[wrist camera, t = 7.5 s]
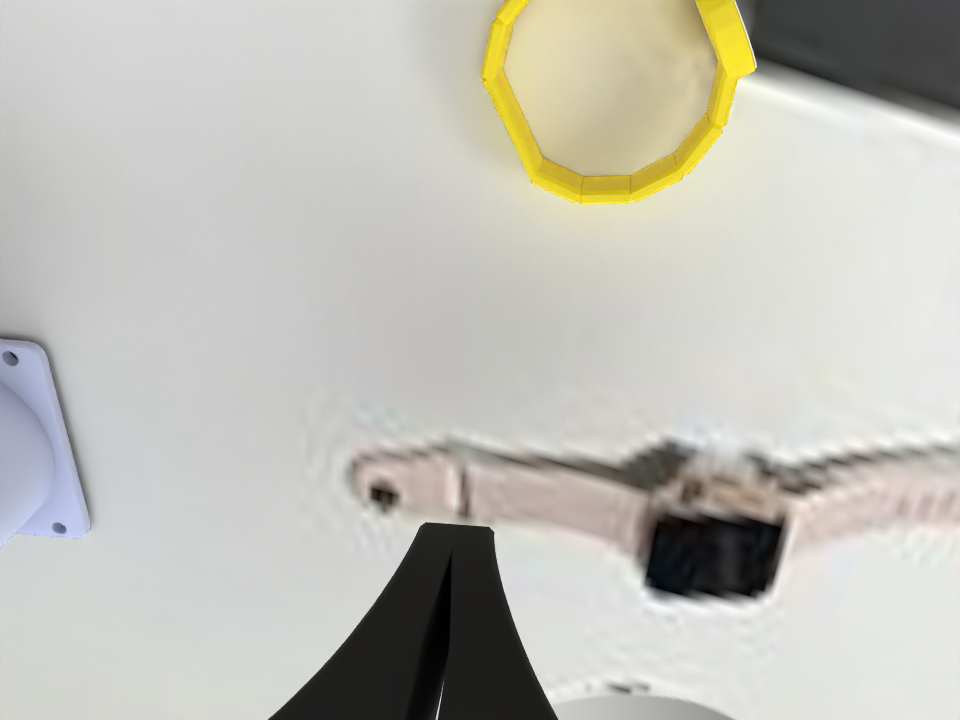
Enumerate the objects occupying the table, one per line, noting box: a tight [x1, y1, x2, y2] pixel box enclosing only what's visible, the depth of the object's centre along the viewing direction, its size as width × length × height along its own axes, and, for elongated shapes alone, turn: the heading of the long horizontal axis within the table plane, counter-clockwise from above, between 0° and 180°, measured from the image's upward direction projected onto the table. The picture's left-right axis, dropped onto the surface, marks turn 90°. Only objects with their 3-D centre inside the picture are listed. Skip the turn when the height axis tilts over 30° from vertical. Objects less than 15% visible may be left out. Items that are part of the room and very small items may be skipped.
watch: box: [480, 0, 757, 205], centre depth 18 cm, size 6×3×6 cm
